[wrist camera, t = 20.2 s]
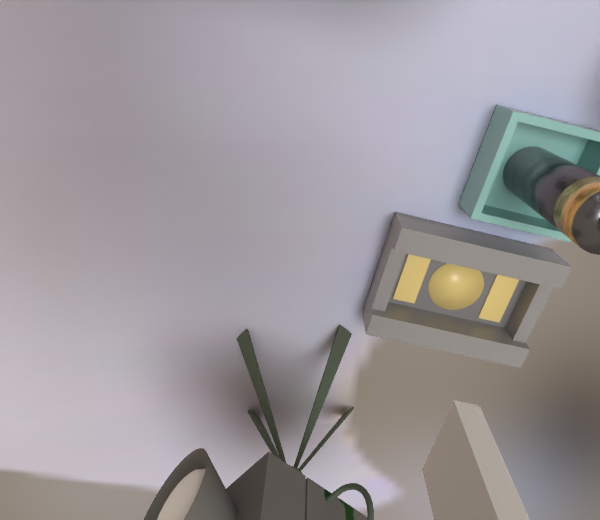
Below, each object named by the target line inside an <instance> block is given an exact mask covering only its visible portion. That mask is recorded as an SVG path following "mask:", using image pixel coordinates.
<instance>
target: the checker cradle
mask: <svg viewBox="0 0 600 520" xmlns="http://www.w3.org/2000/svg"><path fill="white" fill-rule="evenodd" d="M571 269H572V267H571V266H570V265H569V264H568V263H567V262H566V261H564V260H563V259H562V258H561V257H560V256H559V255H558V254H557V253H555V252H554V251H553V250H552V249H550V248H546V247H541V246H537V245H533V244H529V243H524V242H520V241H516V240H512V239H507V238H503V237H499V236H495V235H490V234H486V233H482V232H477V231H473V230H469V229H465V228H460V227H456V226H452V225H448V224H443V223H439V222H435V221H431V220H426V219H422V218H418V217H414V216H409V215H405V214H401V213H397V212H395V214H394V217H393V220H392V223H391V227H390V230H389V233H388V236H387V239H386V242H385V245H384V248H383V251H382V254H381V257H380V260H379V263H378V266H377V269H376V272H375V275H374V278H373V281H372V284H371V287H370V291H369V294H368V297H367V300H366V303H365V306H364V309H363V318H364V325H365V331H366V334H367V335H371V336H376V337H381V338H385V339H390V340H394V341H399V342H403V343H408V344H413V345H417V346H422V347H426V348H431V349H436V350H440V351H445V352H449V353H455V354H458V355H463V356H467V357H472V358H477V359H481V360H486V361H490V362H495V363H499V364H504V365H509V366H513V367H518V368H521V366H522V365H523V363H524V361H525V359H526V357H527V355H528V353H529V351H530V349H529V347H528V346H527V344H526V341H527V339H528V337H529V335H530V333H531V331H532V329H533V327H534V325H535V324H536V322H537V320H538V317H539V316H540V313H541V311H542V310H543V308H544V306H545V304H546V302H547V300H548V298H549V296H550V294H551V292H552V290H553V288H558V289H561V288H562V286H563V284H564V282H565V280H566V278H567V276H568V275H569V273H570V271H571Z"/></svg>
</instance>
